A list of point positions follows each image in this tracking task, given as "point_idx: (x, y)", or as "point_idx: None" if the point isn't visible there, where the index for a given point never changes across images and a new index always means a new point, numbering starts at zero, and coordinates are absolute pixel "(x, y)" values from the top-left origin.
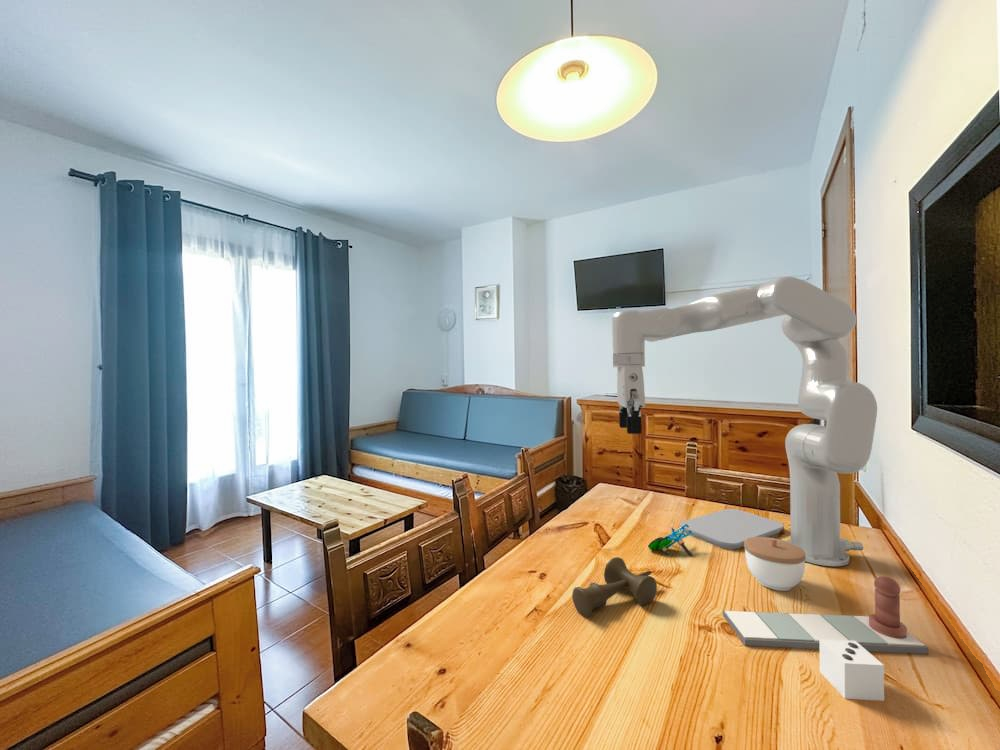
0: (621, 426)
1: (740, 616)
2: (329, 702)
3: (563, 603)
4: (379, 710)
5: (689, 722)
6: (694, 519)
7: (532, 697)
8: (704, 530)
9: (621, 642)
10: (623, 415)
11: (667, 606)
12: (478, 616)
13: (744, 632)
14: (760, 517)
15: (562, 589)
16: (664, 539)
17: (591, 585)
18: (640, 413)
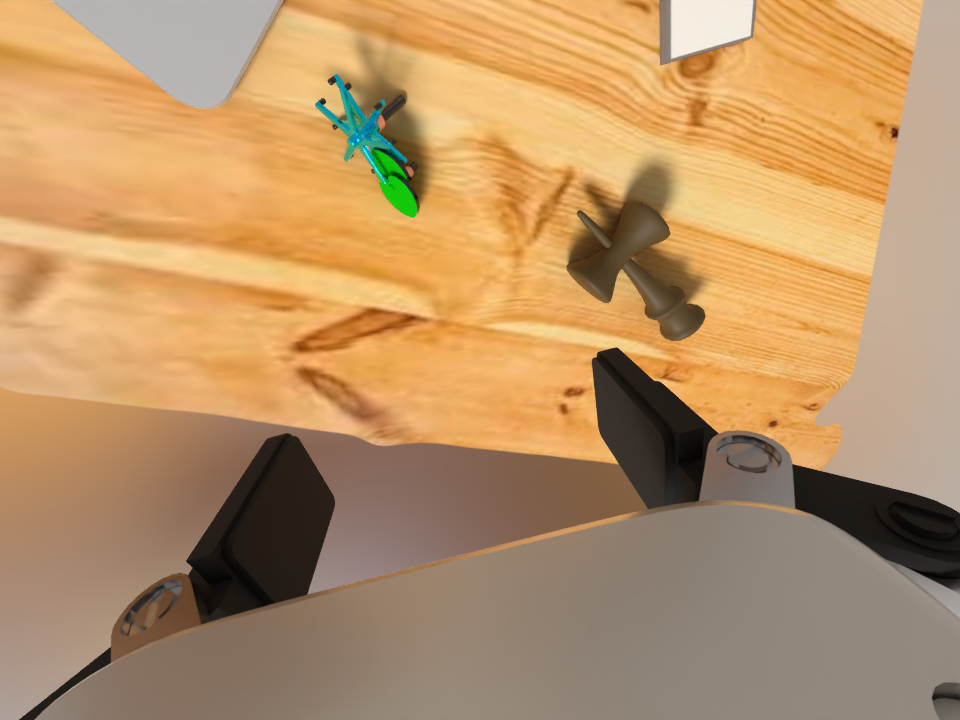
0: (329, 500)
1: (689, 24)
2: None
3: (647, 345)
4: (813, 444)
5: (869, 166)
6: (115, 39)
7: (814, 336)
8: (217, 16)
9: (733, 254)
10: (289, 578)
11: (638, 179)
12: None
13: (739, 31)
14: None
15: None
16: (407, 172)
17: (668, 316)
18: (786, 460)
